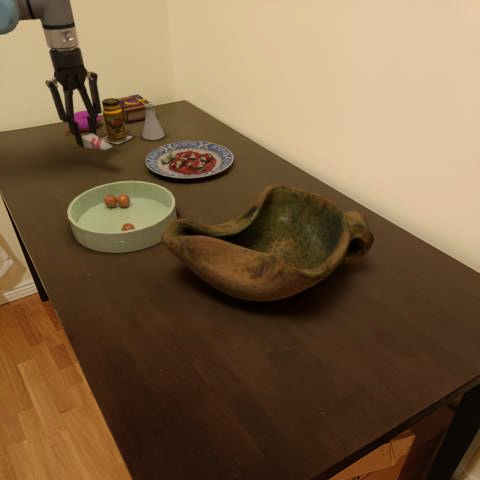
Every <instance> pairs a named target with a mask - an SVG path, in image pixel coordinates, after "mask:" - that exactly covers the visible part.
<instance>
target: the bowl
mask: <svg viewBox="0 0 480 480" xmlns="http://www.w3.org/2000/svg"><path fill="white" fill-rule="evenodd" d="M161 239H162V241H161V242H162V244H163V245H164V247H165V248H166V249H167V250H168V251H169V252H170V253H171V254H172V255H173V256H174V257H175V258H177V260H179V261H180V262H181V263H182V264H183V265H185V266H186V267H187V268H188V269H189V270H190V271H192V272H193V273H194V274H195V275H196V276H198V277H199V278H200V279H201V280H202V281H204V282H205V283H207V284H208V285H209V286H211V287H213V288H215V289H216V290H219V291H220V292H222V293H224V294H226V295H228V296H230V297H231V298H234V299H241V300H245V301H250V302H261V303H263V302H272V301H278V300H283V299H286V298H289V297H292V296H294V295H295V296H296V295H297V294H299V293H302V292H303V291H306V290H307V289H309V288H311V287H313V286H315V285H317V284H319V283H320V282H321V281H323V280H324V279H326V278H327V277H329V275H330V274H332V273H333V272H334V271H335V270H336V268H337V267H338V266H339V265H340V264H350V263H353V262H355V261H358V260H359V259H361V258H364V257H365V256H366V255H367V254H368V253H369V252H370V251H371V249H372V247H373V244H374V243H375V237H374V234H373V232H372V231H371V229H370V227H369V223H368V220H367V218H366V217H365V216H364V215H363V214H361V213H360V212H359V211H356V210H351V211H350V210H349V211H344V210H343V208H341V207H340V206H339V205H338V204H337V203H336V202H334V201H333V200H331V199H328V198H327V197H325V196H323V195H321V194H318V193H316V192H313V191H310V190H306V189H304V188H301V187H297V186H291V185H285V184H280V183H276V184H270V185H268V186H267V187H265V188H264V189H263V190H261V191H260V192H259V193H258V194H257V195H256V197H255V198H254V199H253V200H252V201H251V203H249V205H248V206H247V208H245V209H244V210H243V211H242V212H241V213H240V214H238V215H237V216H235V217H234V218H232V219H230V220H228V221H226V222H222V223H219V224H209V223H205V222H203V221H199V220H195V219H191V218H184V217H183V218H178V217H177V219H176V220H174V221H172V222H170V223H169V224H168V225H167V226H166V227H165V229H164V230H163V232H162V237H161Z"/></svg>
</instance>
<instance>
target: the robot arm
mask: <svg viewBox="0 0 480 480" xmlns="http://www.w3.org/2000/svg"><path fill="white" fill-rule="evenodd" d="M35 20H40V23H41V27H42V30H43V34H44V38H45V43H46V46H47V47H48V48H49V51H48V52H49V57H50V61H51V63H52V67H53V77H52V78H51V79H49V80H48V79H46V80H45V82H44V83H45V85H46V86H47V88H48V89H49V91H50V94H51V96H52V101H53V104H54V106H55V109H56V113H57V116H58V118H59V120H61V121H62V122H63V123H67V124H68V128H69V130H70V132H71V133H72V134H73V135H75V138H76V139H75V142H76V146H78V147H80V148H85V147H84V142H83V141H82V137H81V134H82V133H81V131H80V129H79V125H78V122H76V121H75V119H74V113H75V108H74V91H75V90H77V91H78V93H79V95H80V98H81V100H82V102H83V105H84V107H85V111H87V112H88V114H89V115H90V116H87V121H88V125H89V130H90V131H89V134H91V133H93V134H95V135H96V136H98V132H97V130H98V129H99V125H98V123H97V119H96V118H97V117H98V115H99V114H103V108H102V103H101V99H100V93H99V87H98V78H99V77H98V73H97V72H94V71H91V70H90V71H89V70H88V69H87V68H86V66H85V63H84V58H83V53H82V49H81V48H80V47H79V45H80V40H79V36H78V32H77V26H76V22H75V18H74V14H73V9H72V4H71V0H0V36H3V35H7V34H9V33H11V32H14V30H16V29H17V26H18V25H19V23H20V21H35ZM86 80H87V81H88V87H89V92H90V96H89V93H88V90H87V87H86V84H85V83H86ZM58 84H59V85H60V86H62V92H63V97H64V98H63V99H64V103H63V100H62V97H61V94H60V91H59V89H58V88H59V85H58Z"/></svg>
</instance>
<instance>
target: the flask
mask: <svg viewBox="0 0 480 480" xmlns="http://www.w3.org/2000/svg"><path fill="white" fill-rule="evenodd" d="M144 107H145V109H146V119H144V124H143V129H142V133H141V134H142V135H141V137H142V138H143V139H145V140H149V141H156V140H160V139H163V138H164V137H165V136H166V134H165V131H164V130H163V128H162V126H161V124H160V122H159V120H158V117H157V115H156V111H155V107H156V104H155V103H152V102H151V103H150V102H149V103H148V104H145V105H144Z"/></svg>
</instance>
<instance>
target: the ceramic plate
mask: <svg viewBox="0 0 480 480" xmlns="http://www.w3.org/2000/svg"><path fill="white" fill-rule="evenodd" d="M233 162H234V154H233V152H232V151H231V150H229V148H227V147H225V146H224V145H220V144H217V143H214V142H209V141H202V140H201V141H200V140H185V141H177V142H171V143H168V144H167V143H166V144H164V145H161V146H159V147H157V148H154V149H153V150H152V151H150V152H149V153H148V154H147V156H146V157H145V165H146V167H147V168H148V169H149V170H150V171H151V172H153V173H155V174H157V175H159V176H162V177H167V178H171V179H172V178H173V179H182V180H186V179H190V180H191V179H199V178H201V179H202V178H205V177H210V176H215V175H216V174H219V173H222V172H223V171H226V170H227V169H228V168H229V167H230V166H232V164H233Z"/></svg>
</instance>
